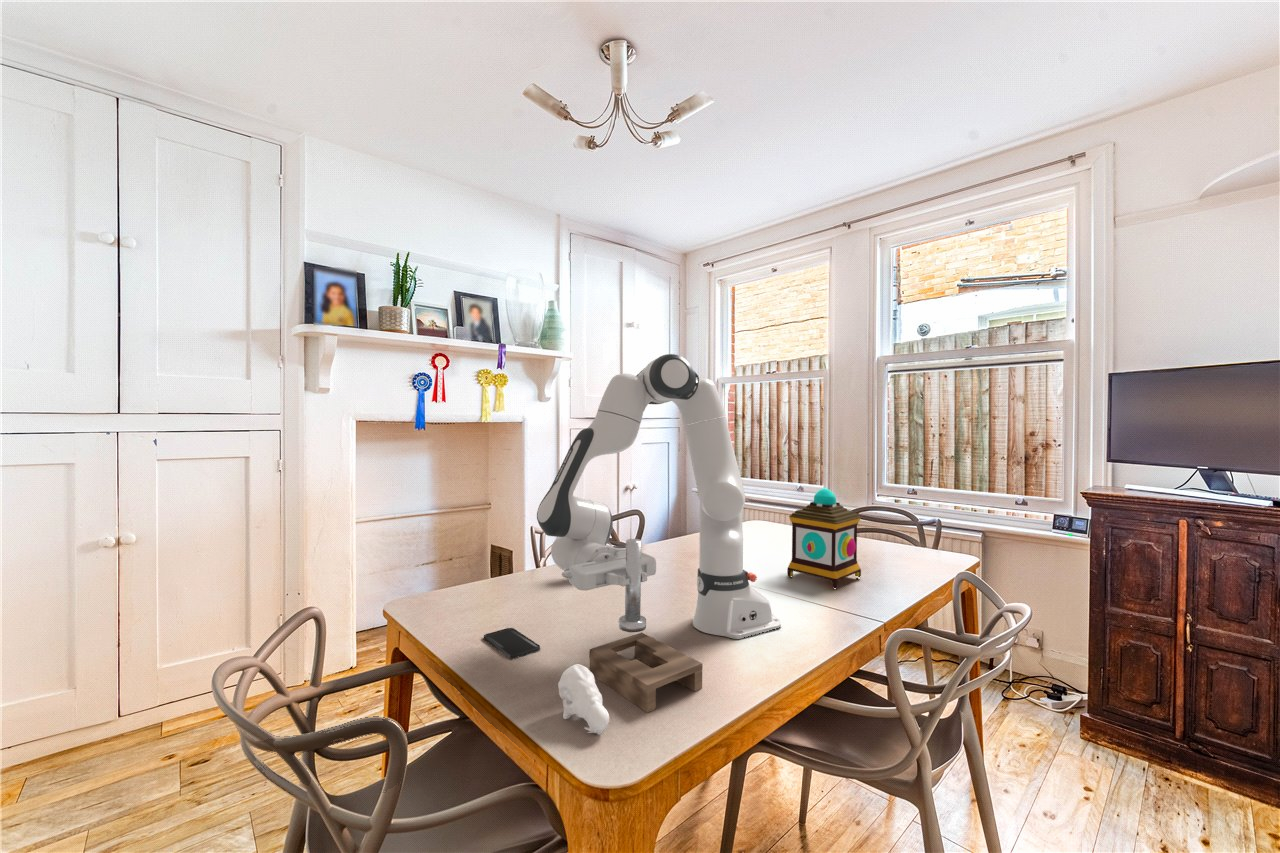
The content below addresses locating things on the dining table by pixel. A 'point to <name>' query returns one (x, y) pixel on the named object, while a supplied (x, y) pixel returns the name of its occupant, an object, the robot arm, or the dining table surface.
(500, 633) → the phone
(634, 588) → the steel peg
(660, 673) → the keyhole board
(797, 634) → the dining table surface
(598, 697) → the white lumpy figurine
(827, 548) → the decorative lantern
